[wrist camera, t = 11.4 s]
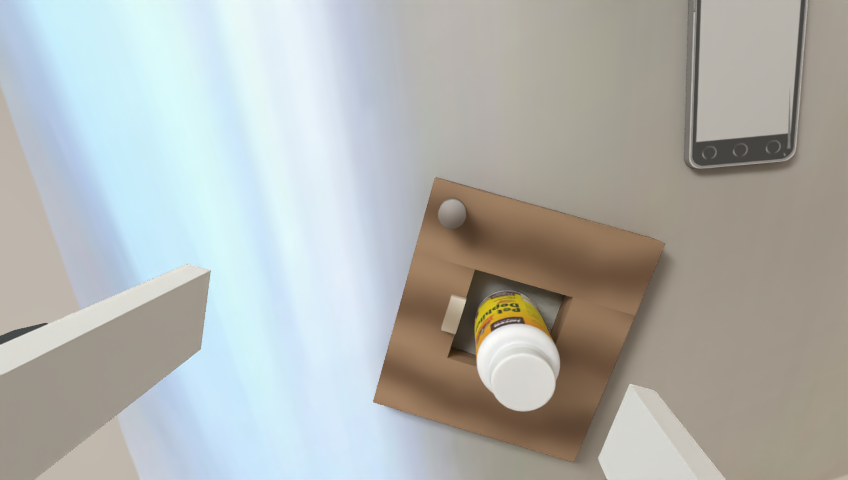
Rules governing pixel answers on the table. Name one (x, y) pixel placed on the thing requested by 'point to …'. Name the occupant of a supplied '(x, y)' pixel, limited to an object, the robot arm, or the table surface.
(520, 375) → the supplement bottle
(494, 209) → the wooden slotted board
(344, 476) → the table surface
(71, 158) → the table surface
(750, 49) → the smartphone
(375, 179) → the table surface
